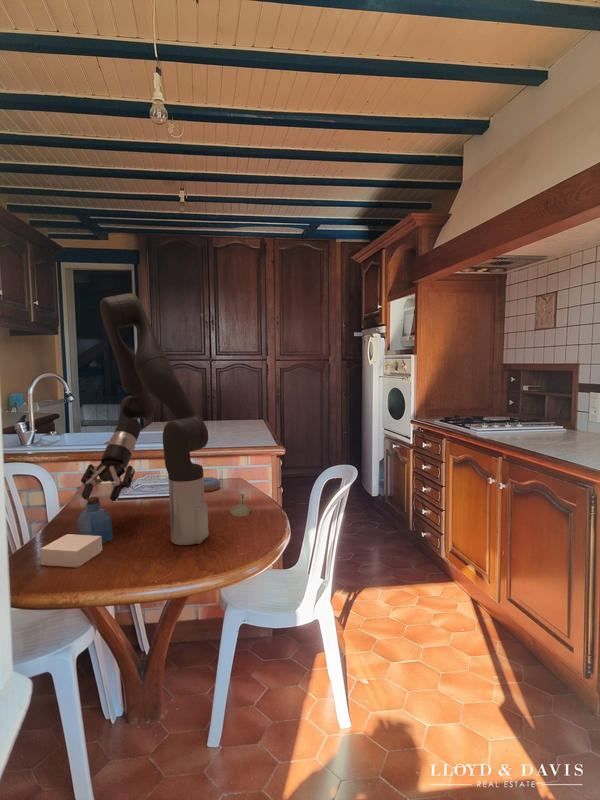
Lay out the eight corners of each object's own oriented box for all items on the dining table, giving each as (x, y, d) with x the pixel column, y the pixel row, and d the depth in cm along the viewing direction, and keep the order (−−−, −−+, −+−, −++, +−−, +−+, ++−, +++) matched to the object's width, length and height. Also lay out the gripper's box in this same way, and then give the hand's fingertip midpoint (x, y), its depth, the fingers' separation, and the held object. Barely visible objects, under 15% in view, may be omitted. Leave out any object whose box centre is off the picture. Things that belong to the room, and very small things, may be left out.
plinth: (102, 551, 127) (101, 536, 126) (77, 567, 117) (76, 551, 116) (68, 548, 129) (67, 534, 128) (41, 564, 119) (40, 548, 118)
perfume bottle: (112, 539, 135) (110, 497, 134) (92, 547, 129) (89, 503, 128) (98, 535, 138) (96, 494, 137) (78, 543, 133) (75, 499, 132)
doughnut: (221, 484, 191) (219, 472, 190) (220, 492, 181) (218, 480, 180) (195, 488, 189) (193, 476, 189) (193, 496, 180) (191, 484, 179)
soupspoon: (229, 520, 152) (250, 520, 153) (229, 510, 152) (250, 510, 152) (232, 497, 174) (251, 497, 174) (232, 488, 173) (251, 488, 174)
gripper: (92, 442, 144) (68, 491, 134) (136, 443, 141) (115, 493, 131) (103, 456, 149) (82, 504, 139) (146, 457, 147) (127, 506, 136)
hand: (98, 499), depth 135 cm, fingers open, 8 cm apart
